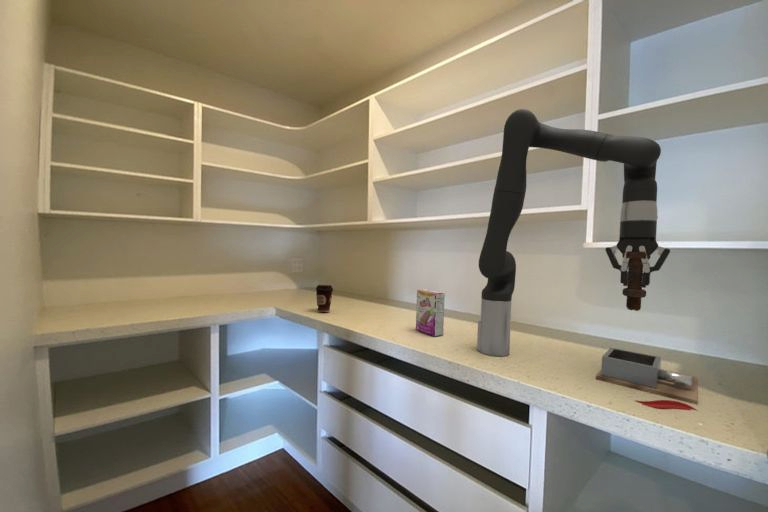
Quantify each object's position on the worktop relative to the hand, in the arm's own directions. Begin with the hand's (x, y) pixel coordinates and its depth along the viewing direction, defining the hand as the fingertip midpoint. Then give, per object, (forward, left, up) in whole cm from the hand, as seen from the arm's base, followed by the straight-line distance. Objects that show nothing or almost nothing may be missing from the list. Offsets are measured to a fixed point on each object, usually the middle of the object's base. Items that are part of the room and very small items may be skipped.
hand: (634, 286), depth 85 cm
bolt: (0, 0, -6) cm, 6 cm away
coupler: (0, 0, -24) cm, 24 cm away
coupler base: (0, 0, -24) cm, 24 cm away
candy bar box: (-63, -2, -25) cm, 68 cm away
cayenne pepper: (+8, -13, -25) cm, 29 cm away
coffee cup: (-123, -8, -25) cm, 126 cm away
